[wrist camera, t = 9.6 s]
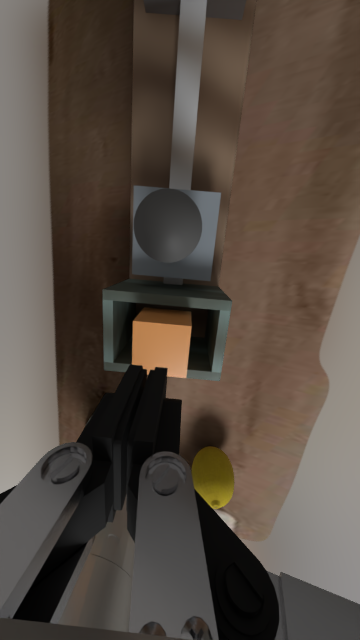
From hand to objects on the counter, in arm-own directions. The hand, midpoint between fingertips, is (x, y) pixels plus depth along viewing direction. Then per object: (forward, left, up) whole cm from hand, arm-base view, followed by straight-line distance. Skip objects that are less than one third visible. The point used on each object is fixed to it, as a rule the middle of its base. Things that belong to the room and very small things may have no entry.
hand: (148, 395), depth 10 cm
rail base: (+10, -6, -18) cm, 21 cm away
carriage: (+7, -4, -15) cm, 17 cm away
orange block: (0, 0, -10) cm, 10 cm away
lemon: (-22, +5, -18) cm, 29 cm away
